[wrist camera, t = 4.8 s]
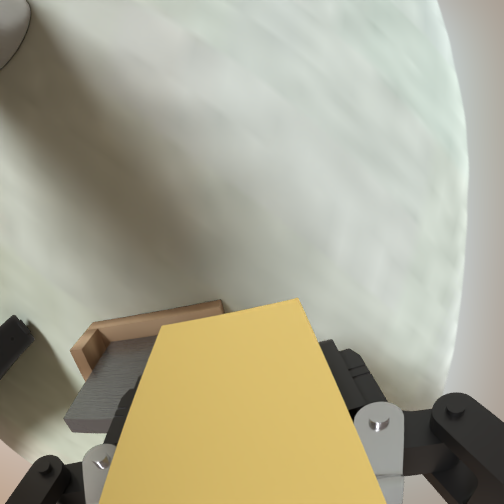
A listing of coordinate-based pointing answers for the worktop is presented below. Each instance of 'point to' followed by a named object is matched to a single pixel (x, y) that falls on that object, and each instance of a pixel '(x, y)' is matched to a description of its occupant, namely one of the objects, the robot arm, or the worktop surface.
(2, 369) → the magazine
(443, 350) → the worktop surface
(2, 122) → the worktop surface
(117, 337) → the shelf
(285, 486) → the book
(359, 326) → the worktop surface
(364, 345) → the worktop surface
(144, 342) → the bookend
